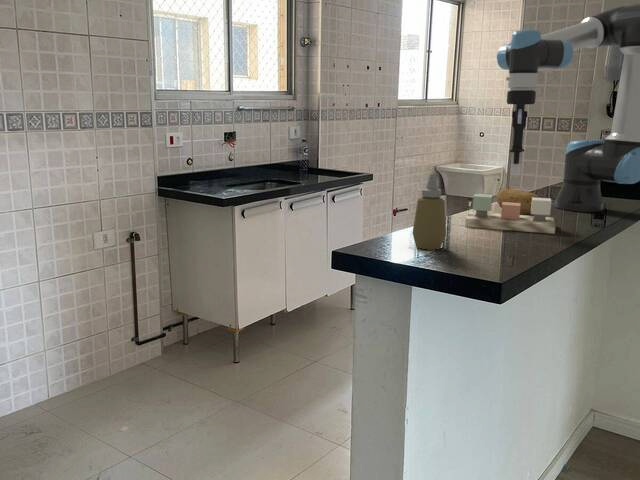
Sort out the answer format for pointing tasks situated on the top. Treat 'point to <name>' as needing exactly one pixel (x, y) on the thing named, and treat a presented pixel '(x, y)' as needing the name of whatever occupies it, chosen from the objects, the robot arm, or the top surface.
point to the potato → (517, 199)
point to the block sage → (482, 204)
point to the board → (510, 223)
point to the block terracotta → (510, 210)
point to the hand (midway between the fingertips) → (515, 175)
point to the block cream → (540, 208)
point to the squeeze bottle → (430, 218)
